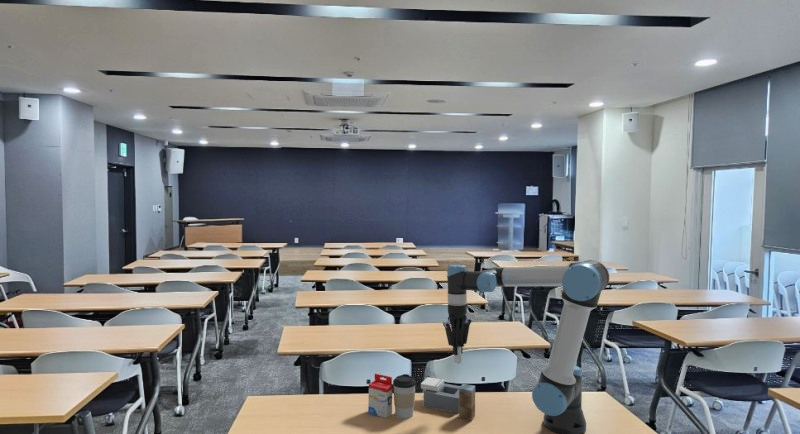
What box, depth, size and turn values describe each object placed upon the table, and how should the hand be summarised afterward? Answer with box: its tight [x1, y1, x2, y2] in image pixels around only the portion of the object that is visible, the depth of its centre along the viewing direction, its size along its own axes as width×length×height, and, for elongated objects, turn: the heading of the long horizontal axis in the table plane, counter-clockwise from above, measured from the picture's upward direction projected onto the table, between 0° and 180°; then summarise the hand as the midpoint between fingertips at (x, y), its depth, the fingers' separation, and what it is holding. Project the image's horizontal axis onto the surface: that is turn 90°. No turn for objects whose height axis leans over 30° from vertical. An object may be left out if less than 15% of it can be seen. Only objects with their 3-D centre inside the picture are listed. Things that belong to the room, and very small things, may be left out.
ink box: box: [367, 373, 394, 419], centre depth 182 cm, size 8×5×15 cm, turn 62°
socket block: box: [423, 382, 462, 414], centre depth 191 cm, size 15×12×6 cm
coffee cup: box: [392, 373, 417, 420], centre depth 181 cm, size 9×9×15 cm
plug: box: [458, 383, 476, 422], centre depth 179 cm, size 5×5×12 cm
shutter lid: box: [420, 376, 445, 392], centre depth 193 cm, size 7×8×2 cm
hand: (457, 362), depth 184 cm, fingers closed
